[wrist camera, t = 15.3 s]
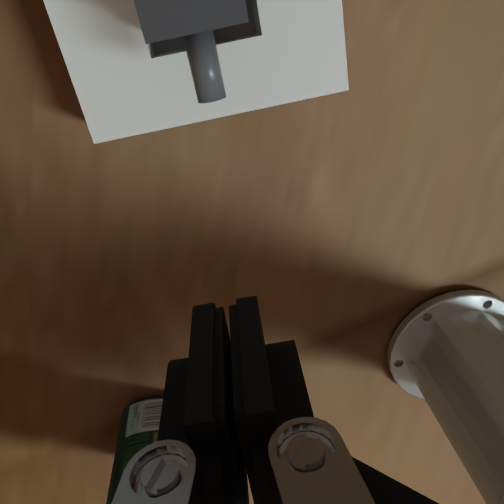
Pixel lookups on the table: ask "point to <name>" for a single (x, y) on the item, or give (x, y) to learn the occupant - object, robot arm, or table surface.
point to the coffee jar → (134, 436)
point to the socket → (178, 69)
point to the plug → (193, 35)
